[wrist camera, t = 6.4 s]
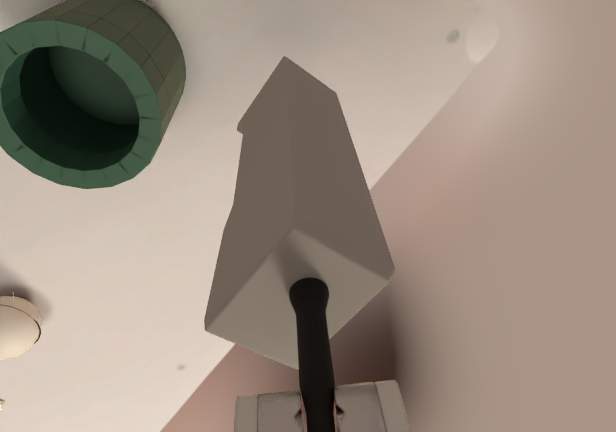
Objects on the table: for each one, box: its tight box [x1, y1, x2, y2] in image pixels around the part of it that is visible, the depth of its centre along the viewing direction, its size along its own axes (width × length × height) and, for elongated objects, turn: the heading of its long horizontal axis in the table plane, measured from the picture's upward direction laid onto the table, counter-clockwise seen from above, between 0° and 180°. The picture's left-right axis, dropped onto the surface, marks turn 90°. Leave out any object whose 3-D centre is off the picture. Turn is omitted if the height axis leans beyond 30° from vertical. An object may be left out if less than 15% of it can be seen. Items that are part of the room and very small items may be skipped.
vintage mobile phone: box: [204, 56, 395, 432], centre depth 17 cm, size 4×5×25 cm
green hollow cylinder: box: [0, 0, 186, 189], centre depth 37 cm, size 12×12×12 cm
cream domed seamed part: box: [0, 294, 42, 360], centre depth 54 cm, size 10×7×7 cm
